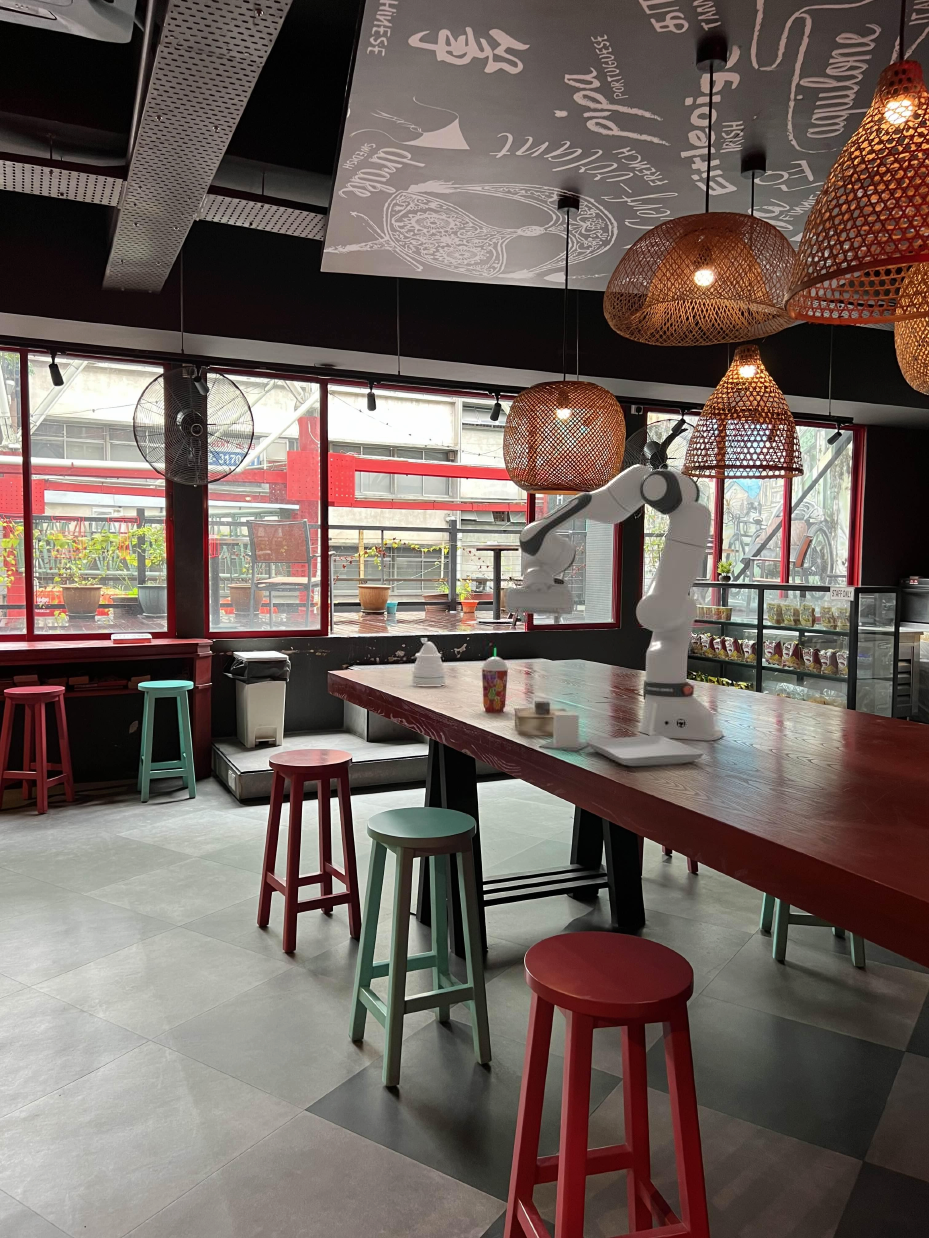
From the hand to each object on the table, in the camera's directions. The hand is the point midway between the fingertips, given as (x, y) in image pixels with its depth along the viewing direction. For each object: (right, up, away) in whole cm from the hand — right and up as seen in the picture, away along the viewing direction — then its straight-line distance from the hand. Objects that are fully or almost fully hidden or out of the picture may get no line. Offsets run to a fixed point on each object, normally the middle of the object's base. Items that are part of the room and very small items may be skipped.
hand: (540, 622), depth 248 cm
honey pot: (-36, -25, +85) cm, 96 cm away
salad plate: (+20, -33, -44) cm, 58 cm away
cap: (+3, -31, -31) cm, 44 cm away
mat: (+3, -31, -31) cm, 44 cm away
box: (-1, -30, -9) cm, 31 cm away
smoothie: (-13, -28, +22) cm, 38 cm away
